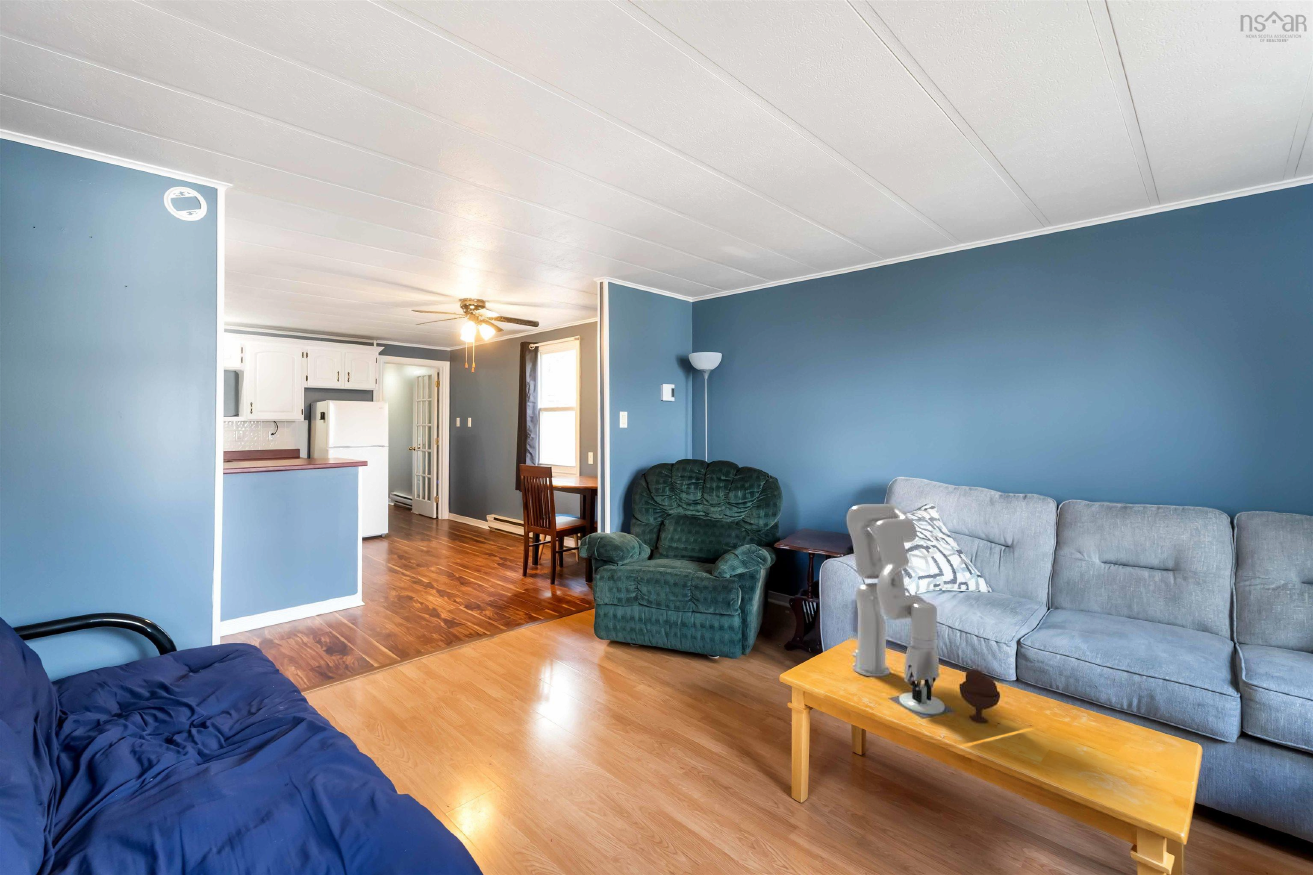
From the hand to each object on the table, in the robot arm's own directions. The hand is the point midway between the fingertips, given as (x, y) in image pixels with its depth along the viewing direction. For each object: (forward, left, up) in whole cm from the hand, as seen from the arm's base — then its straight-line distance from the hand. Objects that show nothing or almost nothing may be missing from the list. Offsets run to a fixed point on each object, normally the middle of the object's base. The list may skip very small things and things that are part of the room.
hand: (921, 699), depth 182 cm
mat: (0, 0, -2) cm, 2 cm away
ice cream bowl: (+13, +9, -2) cm, 16 cm away
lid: (0, 0, -2) cm, 2 cm away
